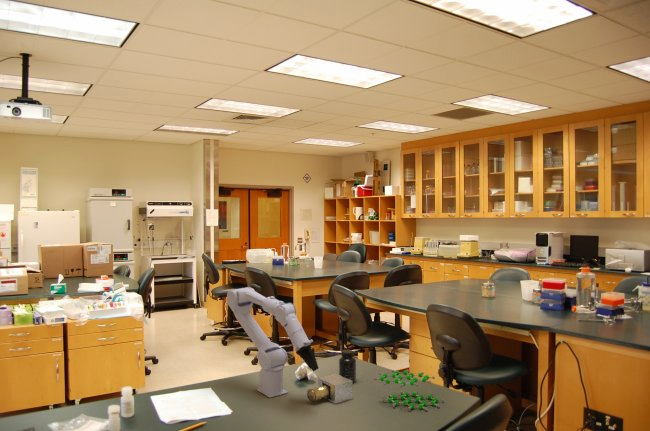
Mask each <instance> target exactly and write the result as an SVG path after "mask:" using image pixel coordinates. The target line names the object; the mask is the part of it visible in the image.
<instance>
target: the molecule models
mask: <svg viewBox="0 0 650 431" xmlns="http://www.w3.org/2000/svg"><path fill="white" fill-rule="evenodd" d="M391 373H392V374H387V373H382V372H381V371H380V372H379V373H378V374H379V377H376V376H375V377H374V378H373V380H374V381H377V380H379V381H380V382H383V385H384V386H387V385H390V383H395V384H399V387H400V388H403V387H405V386H406V385H408V384H409V385H410V386H411V387H413V386H416V387H419V383H417V382H419V381H421V382H422V383H428V384H431V383H432V381H431V380H430V379H433V380H435V378H436V377H435V376H434V375H433V376H429V375H428V374H425V373H424V372H423V371H422V372H419V373H418V374H414V373H413V372H410V370H409V369H406V370H404V371H403V372H402V371H401V372H400V371H399V370H394V369H392V370H391ZM402 374H403V376H402ZM424 374H425V375H424ZM414 376H415V377H414ZM416 376H417V377H418V378H417V377H416ZM388 377H391V378H393V379H394V380H390V379H389V378H388ZM419 378H421V379H419ZM404 379H406V380H408V381H410V382H406V381H404ZM402 380H403V381H402ZM418 393H419V391H418V390H415V391H413V392H412V393H409V392H408V391H405V392H404V391H403V390H400V396H397V395H396V394H391V393H389V394H388V395H387V396H388V397H389V398H387V399H386V398H382V402H383V403H384V402H388V403H393V404H392V407H396V406H398V405H401V404H402V405H403V406H408V407H407V409H408V410H409V411H411V410H412V409H414V408H418V409H420V410H424V411H426V412H427V411H428V407H425V406H427V405H431V406H432V407H434V406H436V407H437V408H440V404H438V402H445V399H444V398H441V399H438V397H433V396H434V393H433V392H431V393H430V394H427V395H426V396H424V395H422V394H418ZM409 396H413V397H415V399H412V398H411V397H409ZM397 399H401V400H404V401H403V402H402V401H401V402H399V401H398V400H397ZM423 399H428V400H431V402H427V401H426V400H423ZM412 401H415V402H416V403H419V404H418V405H415V404H414V403H411V402H412Z"/></svg>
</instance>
